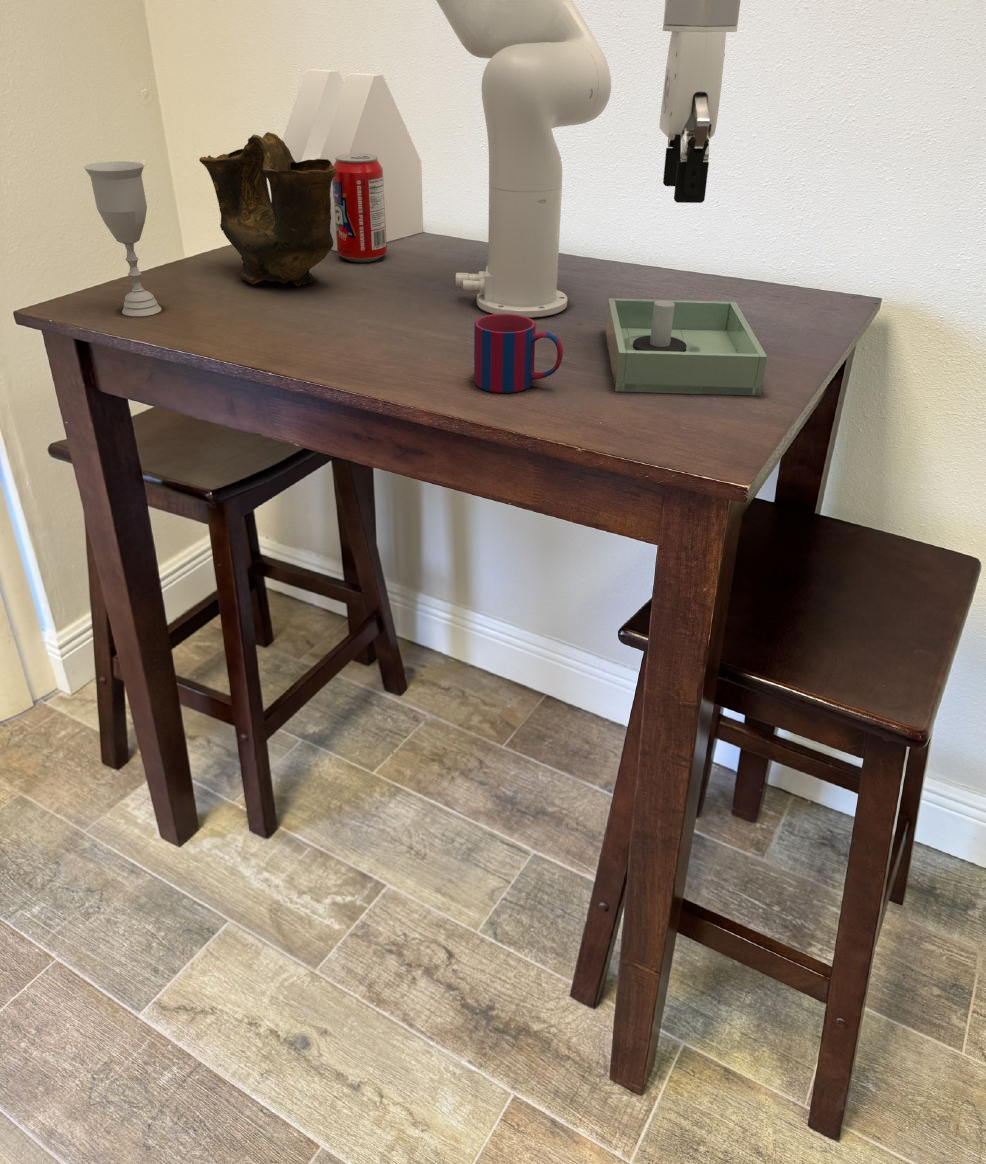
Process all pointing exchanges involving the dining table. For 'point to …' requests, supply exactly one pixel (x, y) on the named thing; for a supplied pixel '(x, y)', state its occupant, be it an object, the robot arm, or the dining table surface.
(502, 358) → the mug
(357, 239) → the soda can
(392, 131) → the white twin peaked block
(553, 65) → the robot arm
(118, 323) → the dining table surface
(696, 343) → the sink floor
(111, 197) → the chalice
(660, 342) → the plug
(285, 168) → the pottery vessel
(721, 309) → the sink
